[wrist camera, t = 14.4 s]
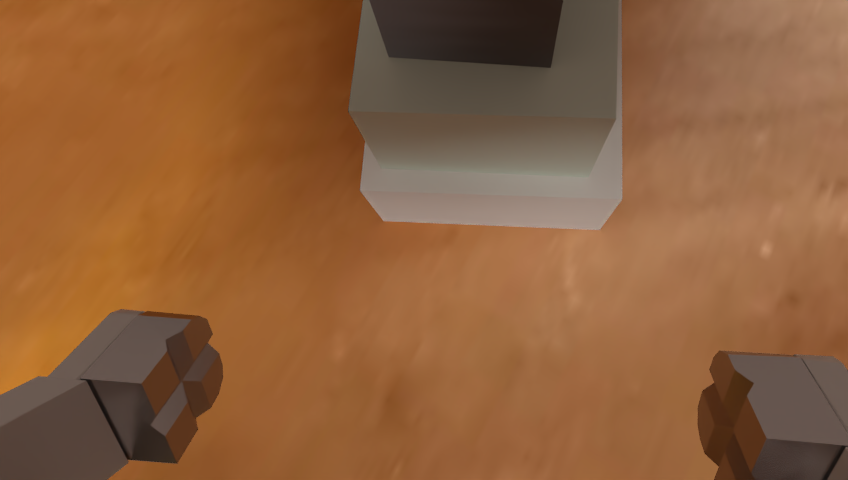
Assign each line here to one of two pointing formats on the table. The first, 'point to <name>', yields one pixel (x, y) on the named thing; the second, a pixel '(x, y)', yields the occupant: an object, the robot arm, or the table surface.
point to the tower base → (503, 189)
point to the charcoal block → (470, 30)
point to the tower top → (492, 102)
